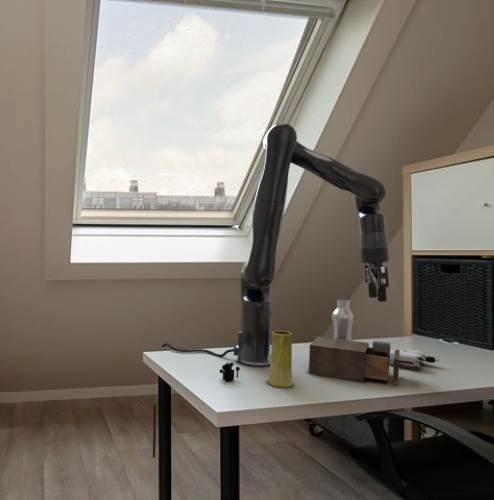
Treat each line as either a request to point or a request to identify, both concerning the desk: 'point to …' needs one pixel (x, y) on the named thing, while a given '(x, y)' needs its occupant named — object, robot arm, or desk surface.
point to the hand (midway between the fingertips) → (377, 299)
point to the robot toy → (412, 357)
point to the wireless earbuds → (228, 372)
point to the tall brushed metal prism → (381, 348)
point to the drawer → (385, 365)
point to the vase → (281, 359)
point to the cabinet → (338, 358)
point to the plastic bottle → (342, 320)
